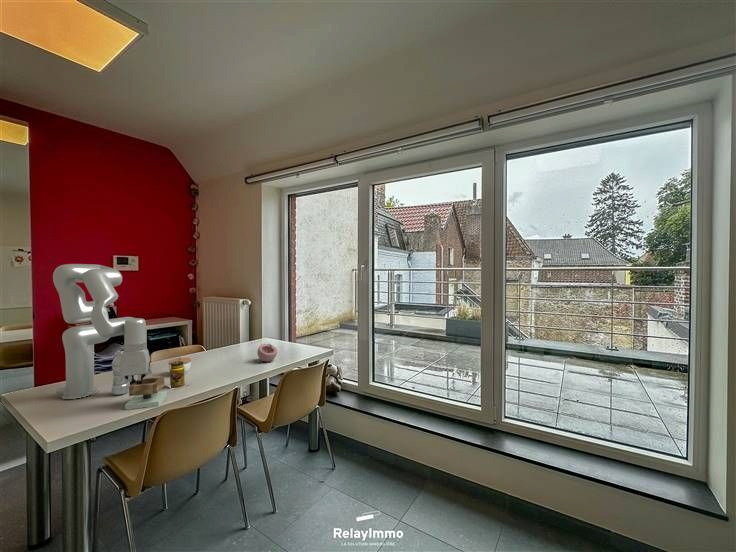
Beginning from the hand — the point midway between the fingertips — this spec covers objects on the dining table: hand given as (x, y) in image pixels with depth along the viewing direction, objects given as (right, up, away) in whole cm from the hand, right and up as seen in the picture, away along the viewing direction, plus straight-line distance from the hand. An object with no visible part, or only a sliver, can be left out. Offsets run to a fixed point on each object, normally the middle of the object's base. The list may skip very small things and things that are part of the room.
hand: (136, 389), depth 136 cm
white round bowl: (-4, -5, +38) cm, 39 cm away
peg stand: (+4, -6, +2) cm, 7 cm away
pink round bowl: (+37, -5, +63) cm, 73 cm away
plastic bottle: (-15, -6, +10) cm, 19 cm away
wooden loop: (+4, -1, +1) cm, 4 cm away
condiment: (+5, -6, +21) cm, 22 cm away
